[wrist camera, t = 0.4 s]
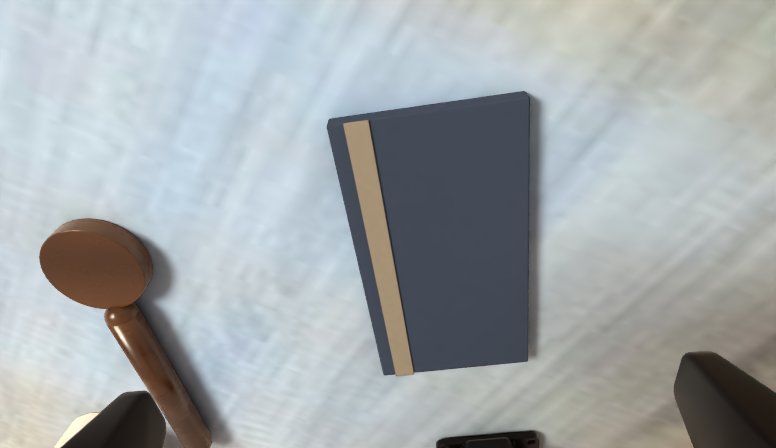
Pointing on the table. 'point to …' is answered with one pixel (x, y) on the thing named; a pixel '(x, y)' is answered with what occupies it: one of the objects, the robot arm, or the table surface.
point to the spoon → (121, 308)
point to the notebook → (441, 229)
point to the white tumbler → (75, 428)
